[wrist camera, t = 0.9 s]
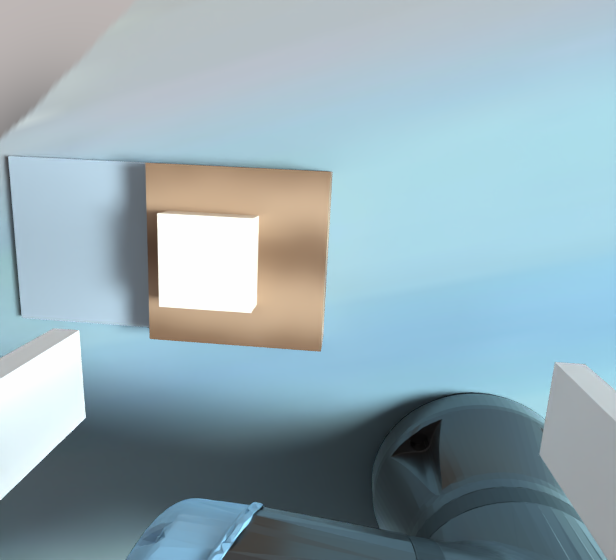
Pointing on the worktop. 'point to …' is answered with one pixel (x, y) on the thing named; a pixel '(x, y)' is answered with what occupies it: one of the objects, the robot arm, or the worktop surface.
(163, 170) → the board
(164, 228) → the tile
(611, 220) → the worktop surface
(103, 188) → the mat
